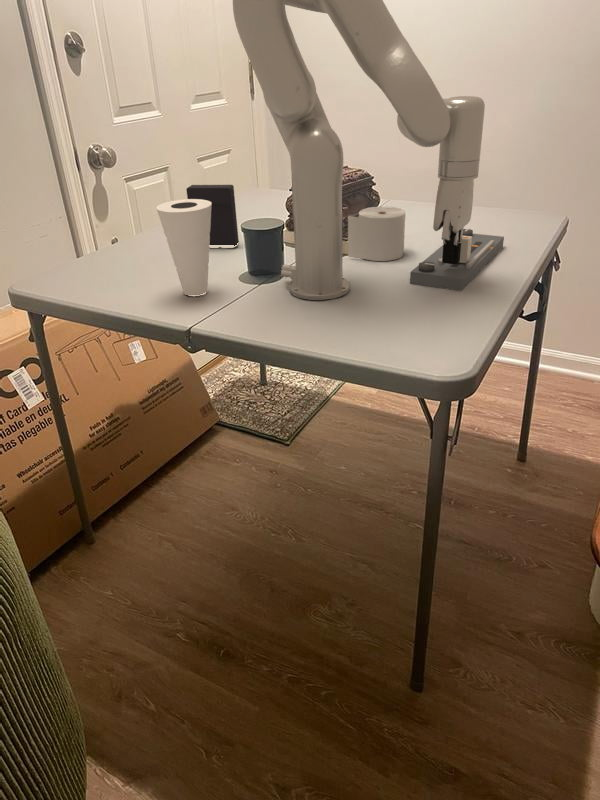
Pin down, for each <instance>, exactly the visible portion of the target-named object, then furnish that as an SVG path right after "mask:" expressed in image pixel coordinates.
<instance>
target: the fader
mask: <svg viewBox="0 0 600 800" xmlns="http://www.w3.org/2000/svg"><path fill="white" fill-rule="evenodd" d="M458 243H460V242H458ZM471 243H472V236H462V241H461V252H460V261H459V262H460V263H467V262H468V261H469V260H470V253H471Z"/></svg>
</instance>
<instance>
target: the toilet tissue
mask: <svg viewBox="0 0 600 800" xmlns="http://www.w3.org/2000/svg"><path fill="white" fill-rule="evenodd" d="M405 229H406V211H405V209H402V208H400V207H395V206H373V207H372V206H371V207H367V208H363V209H361V210H360V211H358V216H353V215H348V216H347V249H348V250H347V253H348V254H347V256H348V257H349V258H354V259H360V260H361V259H362V260H366V261H373V262H387V261H388V262H389V261H395V260H399V259H400V258H403V256H404V253H405Z"/></svg>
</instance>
